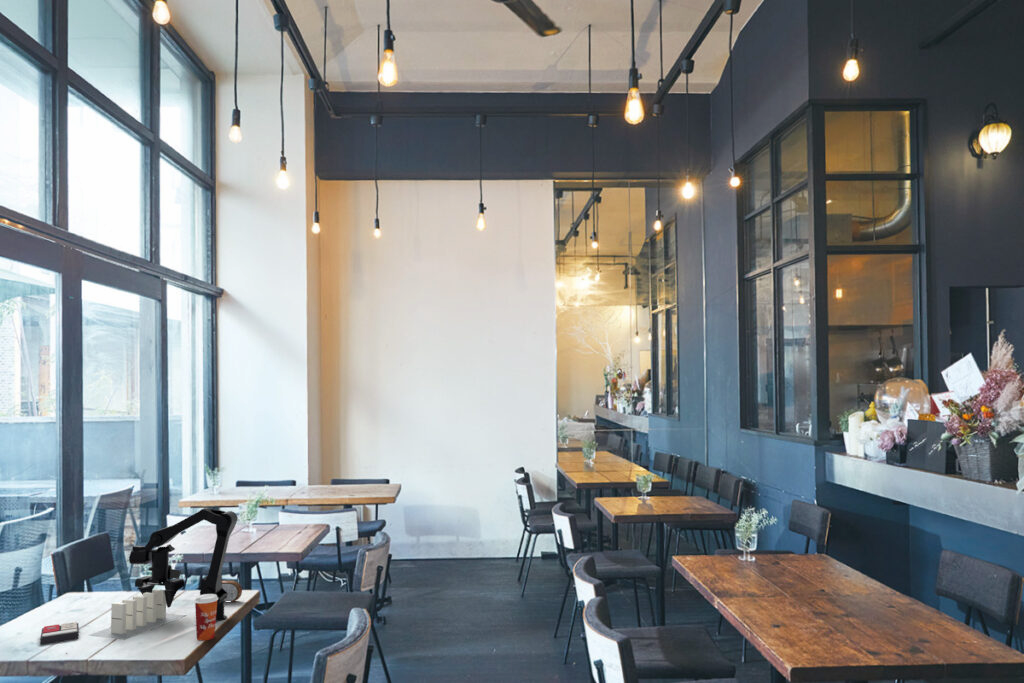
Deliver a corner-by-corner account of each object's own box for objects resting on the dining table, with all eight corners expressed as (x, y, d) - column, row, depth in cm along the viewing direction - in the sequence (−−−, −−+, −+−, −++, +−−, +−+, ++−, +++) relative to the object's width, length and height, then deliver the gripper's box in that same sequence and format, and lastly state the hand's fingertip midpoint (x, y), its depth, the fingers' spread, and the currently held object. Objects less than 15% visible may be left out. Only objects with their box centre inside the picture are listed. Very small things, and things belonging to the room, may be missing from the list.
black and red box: (78, 620, 260) (78, 629, 247) (78, 633, 259) (78, 642, 247) (42, 625, 254) (40, 635, 241) (41, 638, 254) (39, 648, 241)
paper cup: (202, 643, 243) (203, 600, 244) (188, 639, 247) (189, 597, 248) (222, 636, 250) (223, 595, 251) (208, 632, 254) (209, 592, 255)
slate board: (152, 614, 277) (153, 612, 277) (186, 618, 271) (186, 615, 272) (88, 638, 250) (88, 635, 250) (123, 642, 245) (123, 639, 245)
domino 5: (155, 616, 271) (155, 589, 272) (165, 617, 269) (166, 590, 270) (151, 617, 269) (152, 590, 270) (162, 618, 268) (163, 591, 269)
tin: (242, 601, 294) (242, 579, 295) (238, 603, 291) (238, 581, 292) (207, 600, 296) (207, 579, 296) (203, 602, 293) (203, 581, 293)
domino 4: (145, 619, 267) (146, 592, 268) (156, 621, 265) (156, 593, 266) (142, 621, 265) (142, 593, 266) (152, 622, 264) (153, 594, 264)
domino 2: (125, 627, 258) (126, 598, 259) (136, 628, 257) (136, 599, 257) (121, 628, 257) (122, 600, 258) (132, 630, 255) (133, 601, 256)
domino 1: (114, 631, 254) (115, 602, 255) (125, 632, 252) (126, 603, 253) (110, 632, 253) (111, 603, 253) (121, 634, 251) (122, 604, 252)
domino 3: (135, 623, 263) (136, 595, 263) (146, 624, 261) (147, 596, 262) (132, 625, 261) (132, 596, 262) (142, 626, 259) (143, 597, 260)
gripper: (196, 560, 275) (195, 602, 274) (157, 557, 282) (156, 598, 280) (173, 567, 265) (172, 610, 264) (134, 564, 271) (133, 606, 270)
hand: (159, 606), depth 270 cm, fingers open, 9 cm apart
